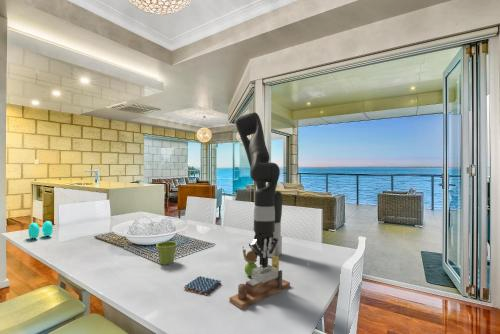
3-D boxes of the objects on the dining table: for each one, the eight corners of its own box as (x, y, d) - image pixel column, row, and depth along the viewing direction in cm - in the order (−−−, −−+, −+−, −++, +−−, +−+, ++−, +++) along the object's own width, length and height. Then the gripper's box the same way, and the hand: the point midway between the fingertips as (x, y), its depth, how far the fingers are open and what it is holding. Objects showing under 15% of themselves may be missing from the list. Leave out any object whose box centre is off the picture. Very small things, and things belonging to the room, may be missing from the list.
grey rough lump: (267, 272, 94) (267, 264, 94) (278, 276, 90) (278, 268, 90) (251, 278, 88) (251, 269, 88) (262, 283, 84) (262, 274, 84)
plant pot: (151, 264, 113) (151, 245, 114) (165, 258, 122) (165, 240, 122) (167, 267, 110) (168, 248, 110) (181, 260, 119) (181, 242, 119)
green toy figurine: (241, 273, 105) (242, 244, 105) (256, 272, 106) (257, 244, 106) (242, 278, 100) (242, 248, 100) (258, 278, 100) (258, 248, 101)
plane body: (277, 281, 98) (278, 263, 98) (289, 286, 94) (290, 267, 94) (229, 301, 82) (229, 280, 82) (241, 309, 77) (241, 286, 78)
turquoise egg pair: (27, 238, 153) (28, 222, 154) (47, 235, 162) (48, 219, 162) (32, 241, 148) (33, 224, 148) (53, 237, 156) (53, 221, 156)
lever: (272, 270, 94) (272, 254, 94) (280, 273, 92) (280, 256, 92) (270, 271, 93) (270, 254, 94) (277, 274, 91) (278, 257, 91)
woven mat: (198, 280, 99) (198, 274, 99) (222, 285, 95) (222, 279, 95) (182, 291, 90) (182, 285, 90) (207, 297, 86) (207, 291, 86)
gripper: (269, 214, 96) (268, 259, 96) (243, 218, 87) (242, 268, 87) (284, 217, 90) (283, 265, 90) (258, 222, 82) (257, 275, 81)
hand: (263, 267), depth 89 cm, fingers closed
